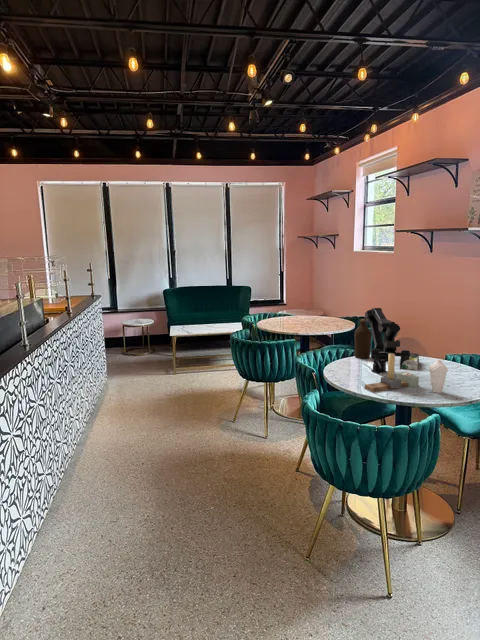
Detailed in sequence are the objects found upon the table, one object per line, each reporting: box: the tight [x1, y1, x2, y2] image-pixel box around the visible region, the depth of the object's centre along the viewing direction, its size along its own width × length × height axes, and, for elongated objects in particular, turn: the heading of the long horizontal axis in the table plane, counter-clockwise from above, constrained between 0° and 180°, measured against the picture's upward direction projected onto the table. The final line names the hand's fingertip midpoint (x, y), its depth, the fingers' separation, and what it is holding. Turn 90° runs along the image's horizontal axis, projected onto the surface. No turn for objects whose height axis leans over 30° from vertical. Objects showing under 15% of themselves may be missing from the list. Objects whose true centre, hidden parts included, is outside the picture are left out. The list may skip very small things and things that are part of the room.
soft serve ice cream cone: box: [428, 358, 449, 394], centre depth 202 cm, size 8×8×16 cm
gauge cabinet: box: [396, 371, 420, 388], centre depth 216 cm, size 5×10×6 cm, turn 20°
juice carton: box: [401, 352, 420, 371], centre depth 251 cm, size 20×10×6 cm, turn 156°
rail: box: [364, 380, 409, 393], centre depth 211 cm, size 22×6×2 cm, turn 110°
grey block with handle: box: [380, 353, 402, 389], centre depth 211 cm, size 6×8×16 cm
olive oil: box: [353, 318, 372, 360], centre depth 272 cm, size 11×11×25 cm
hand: (390, 368), depth 212 cm, fingers open, 9 cm apart
